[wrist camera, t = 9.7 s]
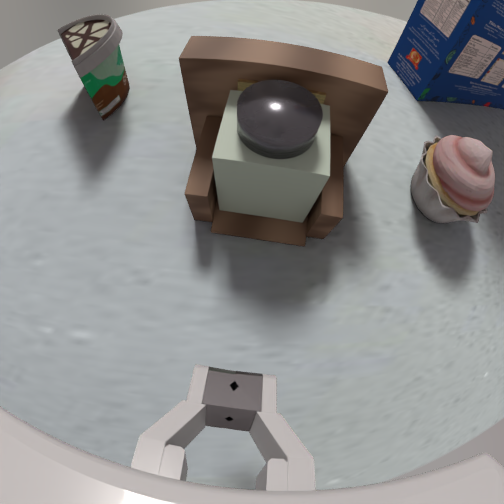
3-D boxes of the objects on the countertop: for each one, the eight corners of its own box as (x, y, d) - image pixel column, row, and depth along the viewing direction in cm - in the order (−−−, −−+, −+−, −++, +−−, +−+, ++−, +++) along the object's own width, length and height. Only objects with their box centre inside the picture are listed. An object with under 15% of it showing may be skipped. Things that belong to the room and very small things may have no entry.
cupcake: (463, 248, 25) (528, 217, 15) (396, 222, 25) (459, 173, 15) (460, 176, 27) (510, 134, 18) (398, 147, 27) (442, 90, 18)
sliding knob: (219, 210, 24) (209, 137, 14) (231, 151, 26) (230, 69, 16) (302, 222, 24) (340, 158, 14) (307, 163, 26) (337, 86, 16)
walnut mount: (175, 227, 24) (134, 155, 13) (203, 124, 27) (191, 36, 16) (339, 252, 24) (404, 198, 13) (341, 145, 27) (381, 66, 16)
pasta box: (481, 78, 35) (541, -4, 8) (504, 109, 33) (573, 28, 6) (387, 62, 32) (452, -80, 5) (416, 100, 30) (508, -49, 3)
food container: (154, 99, 28) (134, 29, 18) (107, 127, 26) (72, 63, 17) (120, 57, 30) (102, 3, 20) (82, 80, 29) (56, 28, 19)
